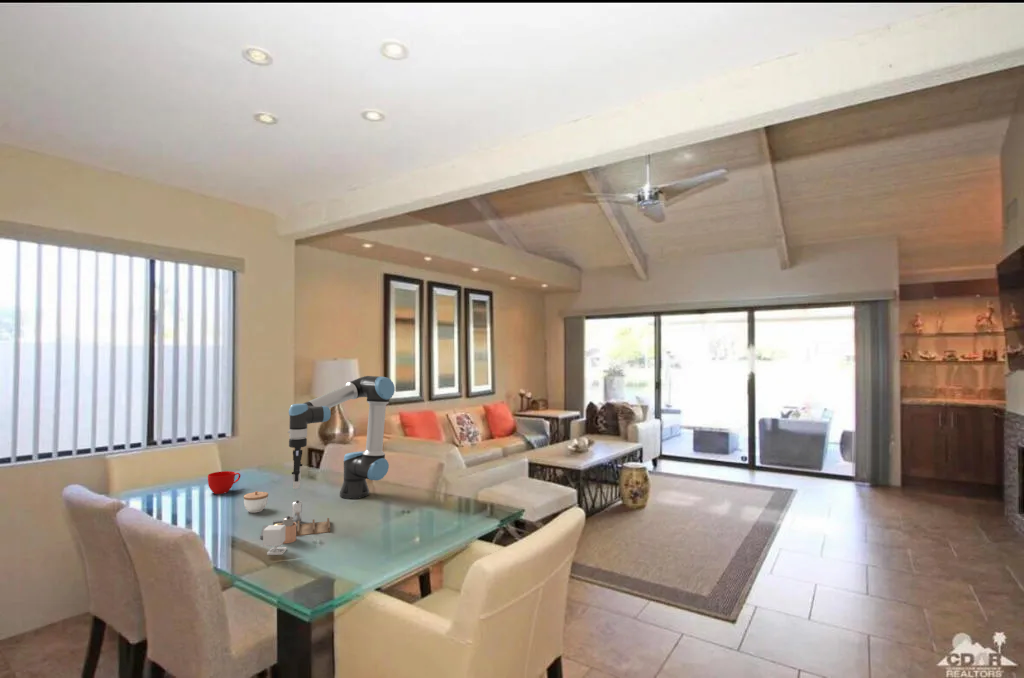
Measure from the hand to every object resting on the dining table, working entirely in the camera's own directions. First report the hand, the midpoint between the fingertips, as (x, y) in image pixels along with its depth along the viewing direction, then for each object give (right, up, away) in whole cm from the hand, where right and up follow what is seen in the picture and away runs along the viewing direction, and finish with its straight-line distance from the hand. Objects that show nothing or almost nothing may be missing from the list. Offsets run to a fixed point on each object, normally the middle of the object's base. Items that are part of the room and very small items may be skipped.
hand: (296, 484), depth 237 cm
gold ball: (-2, -17, -15) cm, 23 cm away
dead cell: (+6, -16, -24) cm, 30 cm away
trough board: (+11, -17, -10) cm, 23 cm away
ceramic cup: (-59, -17, +47) cm, 78 cm away
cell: (0, -17, -1) cm, 17 cm away
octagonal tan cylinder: (+6, -16, -24) cm, 30 cm away
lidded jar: (-26, -17, +15) cm, 35 cm away
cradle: (-2, -17, -14) cm, 22 cm away
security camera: (+7, -16, -37) cm, 41 cm away
